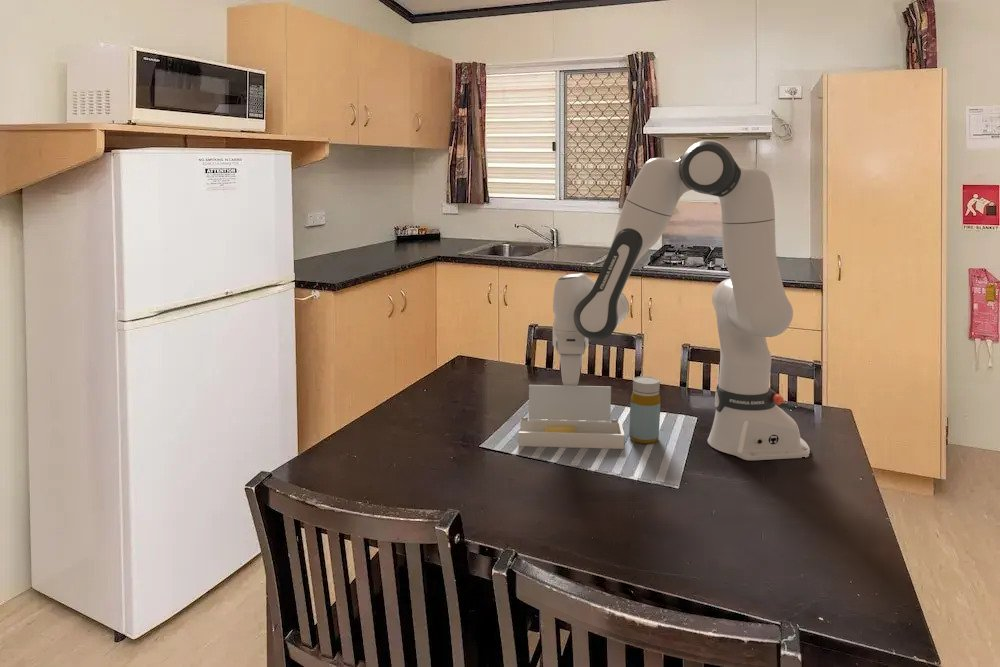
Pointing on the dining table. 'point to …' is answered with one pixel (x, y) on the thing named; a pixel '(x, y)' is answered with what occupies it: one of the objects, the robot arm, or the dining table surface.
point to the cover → (570, 402)
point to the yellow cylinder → (561, 429)
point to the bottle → (645, 410)
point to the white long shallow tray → (572, 434)
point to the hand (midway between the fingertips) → (569, 392)
